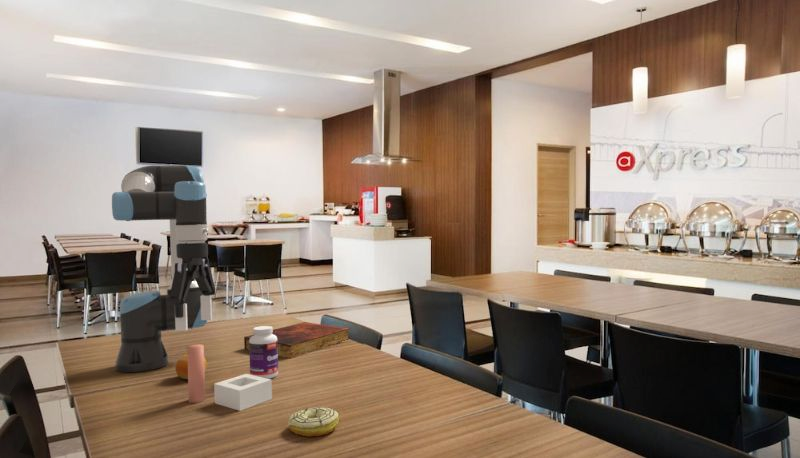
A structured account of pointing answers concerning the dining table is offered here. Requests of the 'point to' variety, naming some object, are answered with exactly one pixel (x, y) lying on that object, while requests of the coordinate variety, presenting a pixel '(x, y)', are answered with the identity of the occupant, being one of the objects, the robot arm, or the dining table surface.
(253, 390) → the socket block
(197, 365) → the peg
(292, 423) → the decorated donut
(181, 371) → the fruit
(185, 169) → the robot arm
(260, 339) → the pill bottle
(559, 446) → the dining table surface
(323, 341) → the book
